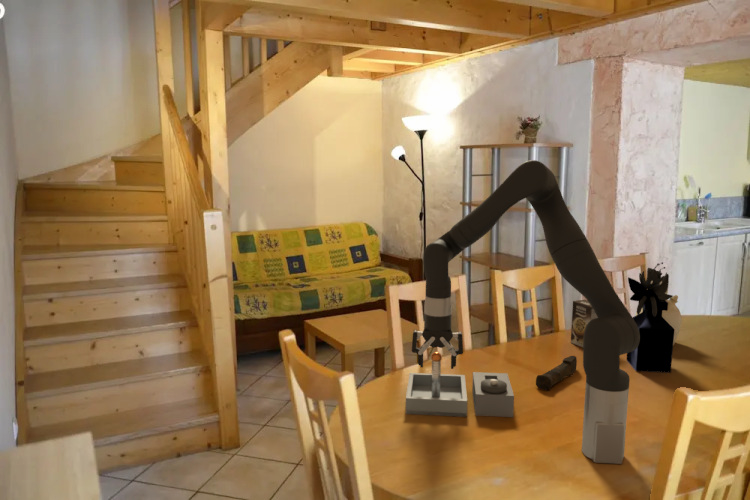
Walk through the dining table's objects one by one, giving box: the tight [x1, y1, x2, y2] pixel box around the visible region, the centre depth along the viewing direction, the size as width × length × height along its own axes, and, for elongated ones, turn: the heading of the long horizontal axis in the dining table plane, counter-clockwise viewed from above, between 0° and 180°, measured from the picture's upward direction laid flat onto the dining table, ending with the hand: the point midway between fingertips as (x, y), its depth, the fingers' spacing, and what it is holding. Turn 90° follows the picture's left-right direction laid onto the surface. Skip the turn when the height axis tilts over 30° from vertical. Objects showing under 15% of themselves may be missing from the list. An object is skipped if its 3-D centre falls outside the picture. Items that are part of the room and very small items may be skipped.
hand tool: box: [535, 355, 578, 391], centre depth 178 cm, size 23×5×6 cm, turn 134°
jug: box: [635, 276, 682, 346], centre depth 212 cm, size 15×16×25 cm
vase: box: [626, 262, 674, 373], centre depth 186 cm, size 14×12×35 cm
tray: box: [405, 372, 468, 418], centre depth 163 cm, size 18×16×4 cm
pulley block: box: [471, 371, 515, 418], centre depth 161 cm, size 16×10×8 cm, turn 173°
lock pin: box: [430, 351, 443, 398], centre depth 162 cm, size 3×3×14 cm
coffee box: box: [570, 299, 598, 348], centre depth 210 cm, size 9×6×16 cm
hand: (437, 367), depth 162 cm, fingers open, 8 cm apart
